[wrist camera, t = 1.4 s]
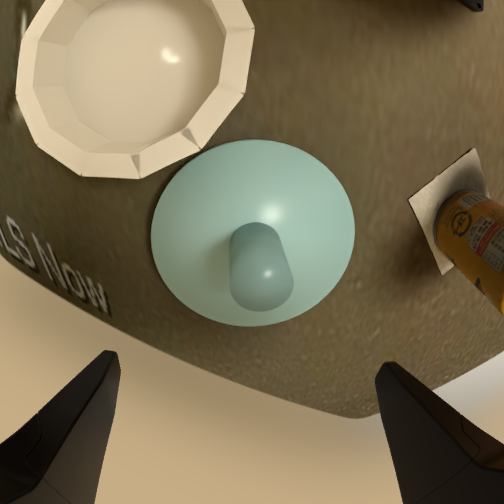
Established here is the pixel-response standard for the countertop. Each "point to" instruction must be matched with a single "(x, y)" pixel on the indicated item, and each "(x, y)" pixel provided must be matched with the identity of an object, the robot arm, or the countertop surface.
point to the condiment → (465, 226)
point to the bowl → (131, 80)
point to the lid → (252, 232)
